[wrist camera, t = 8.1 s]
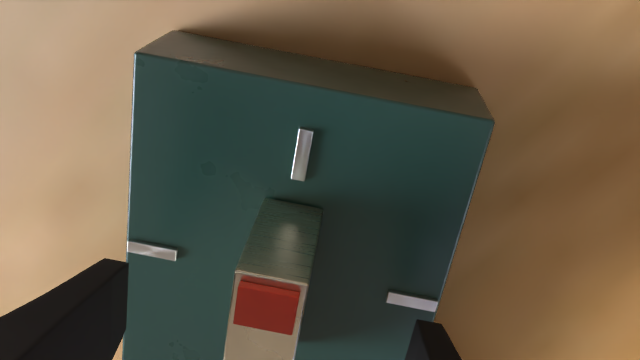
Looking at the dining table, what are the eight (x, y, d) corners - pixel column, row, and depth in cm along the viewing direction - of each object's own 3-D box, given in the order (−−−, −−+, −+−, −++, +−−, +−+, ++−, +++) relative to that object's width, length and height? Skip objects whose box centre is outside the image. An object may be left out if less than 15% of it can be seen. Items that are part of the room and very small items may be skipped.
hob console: (394, 377, 22) (397, 448, 19) (152, 329, 22) (118, 392, 19) (478, 87, 17) (497, 122, 14) (171, 29, 17) (130, 52, 15)
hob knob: (297, 344, 18) (277, 449, 14) (244, 334, 18) (210, 436, 14) (323, 208, 16) (307, 291, 12) (264, 197, 16) (231, 276, 12)
